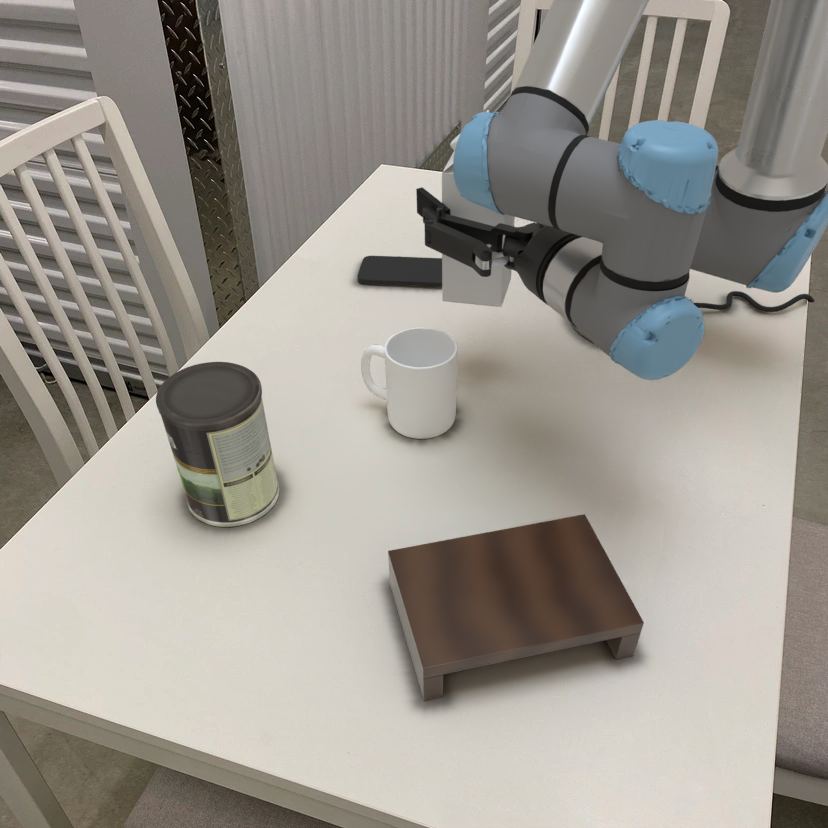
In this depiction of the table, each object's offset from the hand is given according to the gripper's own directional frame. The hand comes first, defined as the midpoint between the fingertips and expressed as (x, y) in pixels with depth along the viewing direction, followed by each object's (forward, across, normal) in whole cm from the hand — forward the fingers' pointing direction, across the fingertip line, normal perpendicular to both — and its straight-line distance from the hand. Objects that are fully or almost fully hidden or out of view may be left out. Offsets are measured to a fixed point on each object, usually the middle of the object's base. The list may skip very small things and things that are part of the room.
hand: (460, 190), depth 93 cm
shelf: (-41, -18, -22) cm, 50 cm away
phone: (+21, +3, -21) cm, 30 cm away
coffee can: (-13, -35, -22) cm, 43 cm away
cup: (-9, -12, -22) cm, 26 cm away
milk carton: (-4, 0, -11) cm, 12 cm away
